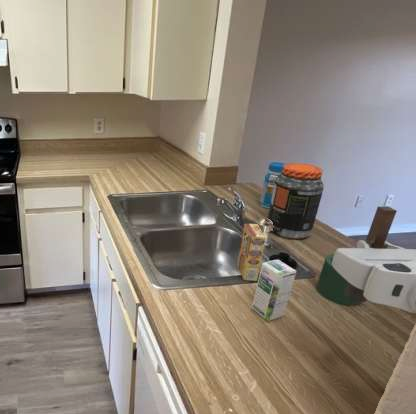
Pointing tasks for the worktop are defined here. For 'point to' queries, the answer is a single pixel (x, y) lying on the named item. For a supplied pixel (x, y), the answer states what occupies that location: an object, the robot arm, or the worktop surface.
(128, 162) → the worktop surface
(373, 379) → the worktop surface
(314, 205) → the supplement tub
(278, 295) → the syrup box
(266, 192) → the beverage bottle
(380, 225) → the brush
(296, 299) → the worktop surface
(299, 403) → the worktop surface
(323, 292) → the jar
